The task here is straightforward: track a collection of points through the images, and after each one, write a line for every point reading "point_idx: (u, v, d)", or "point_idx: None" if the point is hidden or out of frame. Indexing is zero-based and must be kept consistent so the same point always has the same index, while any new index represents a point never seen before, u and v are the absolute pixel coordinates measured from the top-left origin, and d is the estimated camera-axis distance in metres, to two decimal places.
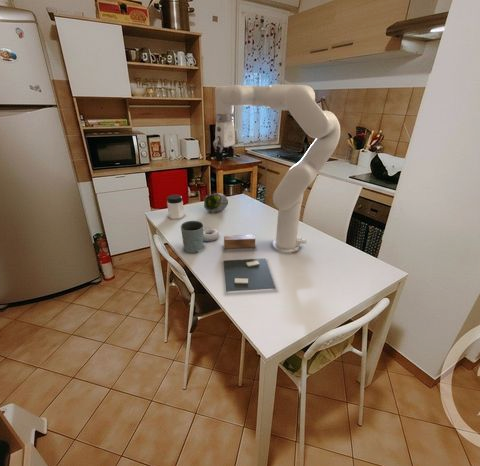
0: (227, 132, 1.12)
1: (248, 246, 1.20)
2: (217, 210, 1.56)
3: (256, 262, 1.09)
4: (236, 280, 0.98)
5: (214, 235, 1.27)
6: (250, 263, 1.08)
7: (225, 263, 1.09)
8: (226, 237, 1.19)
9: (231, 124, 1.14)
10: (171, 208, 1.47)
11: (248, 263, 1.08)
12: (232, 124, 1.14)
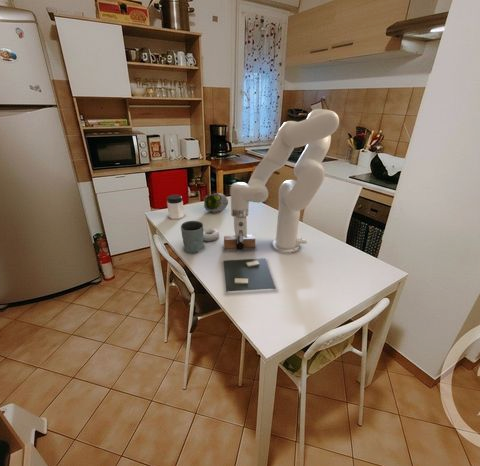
0: None
1: (248, 246, 1.20)
2: (217, 210, 1.56)
3: (256, 262, 1.09)
4: (236, 280, 0.98)
5: (214, 235, 1.27)
6: (250, 263, 1.08)
7: (225, 263, 1.09)
8: (226, 237, 1.19)
9: None
10: (171, 208, 1.47)
11: (248, 263, 1.08)
12: None
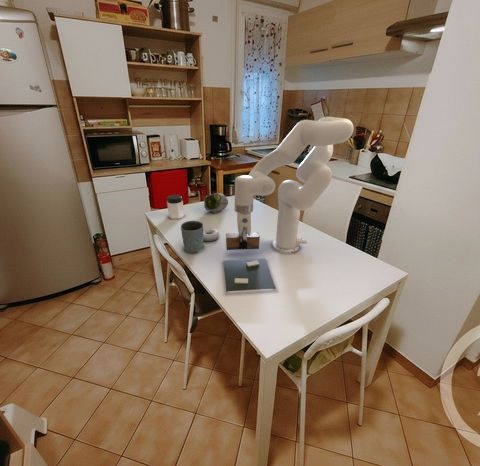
0: None
1: (252, 245, 1.12)
2: (217, 210, 1.56)
3: (256, 262, 1.09)
4: (236, 280, 0.98)
5: (214, 235, 1.27)
6: (250, 263, 1.08)
7: (225, 263, 1.09)
8: (228, 235, 1.11)
9: None
10: (171, 208, 1.47)
11: (248, 263, 1.08)
12: None
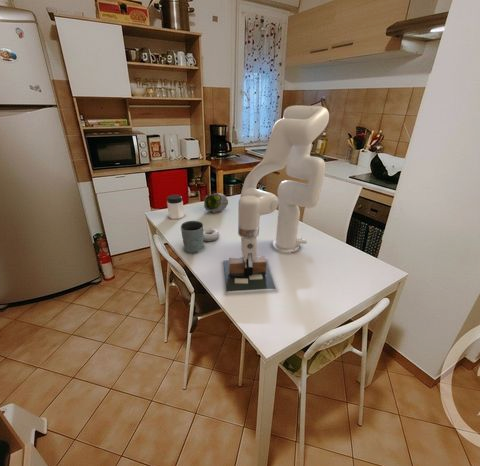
0: None
1: (258, 270, 1.01)
2: (217, 210, 1.56)
3: (259, 276, 1.01)
4: (236, 280, 0.98)
5: (214, 235, 1.27)
6: (253, 276, 1.00)
7: (225, 263, 1.09)
8: (232, 260, 1.00)
9: None
10: (171, 208, 1.47)
11: (250, 276, 1.00)
12: None
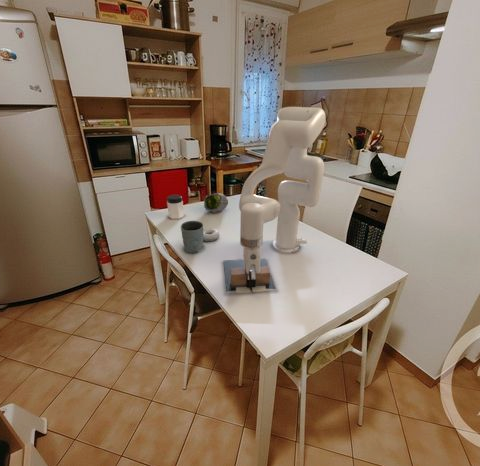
0: None
1: (261, 282, 0.95)
2: (217, 210, 1.56)
3: (263, 288, 0.94)
4: (238, 289, 0.94)
5: (214, 235, 1.27)
6: (256, 288, 0.94)
7: (225, 263, 1.09)
8: (233, 270, 0.94)
9: None
10: (171, 208, 1.47)
11: (253, 288, 0.94)
12: None
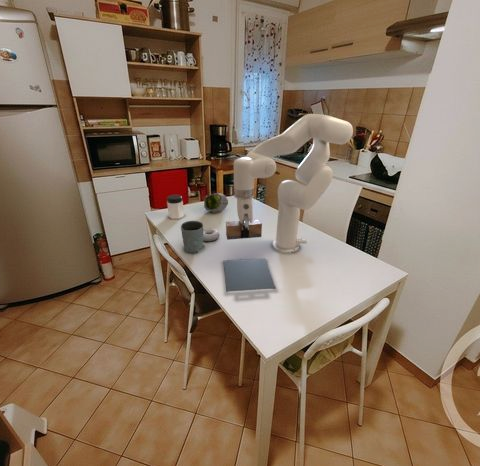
0: None
1: (254, 233, 1.05)
2: (217, 210, 1.56)
3: None
4: None
5: (214, 235, 1.27)
6: None
7: (225, 263, 1.09)
8: (228, 223, 1.04)
9: None
10: (171, 208, 1.47)
11: None
12: None
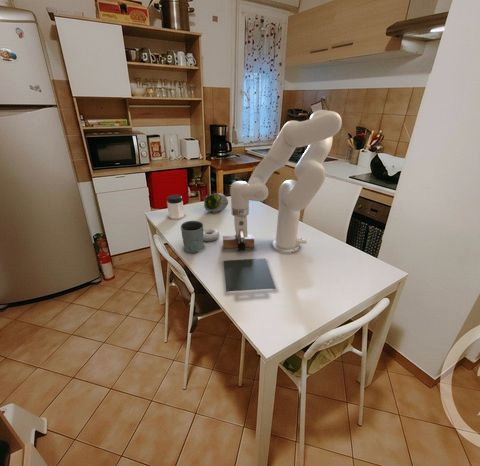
0: None
1: (247, 246, 1.20)
2: (217, 210, 1.56)
3: None
4: None
5: (214, 235, 1.27)
6: None
7: (225, 263, 1.09)
8: (225, 237, 1.19)
9: None
10: (171, 208, 1.47)
11: None
12: None
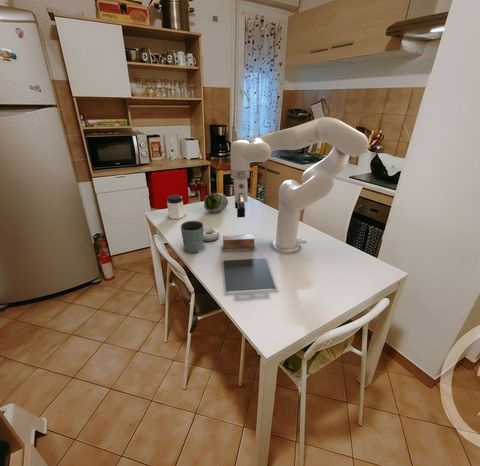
0: None
1: (247, 246, 1.20)
2: (217, 210, 1.56)
3: None
4: None
5: (214, 235, 1.27)
6: None
7: (225, 263, 1.09)
8: (225, 237, 1.19)
9: None
10: (171, 208, 1.47)
11: None
12: None
